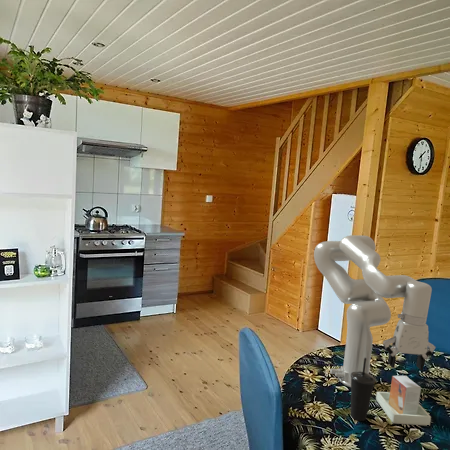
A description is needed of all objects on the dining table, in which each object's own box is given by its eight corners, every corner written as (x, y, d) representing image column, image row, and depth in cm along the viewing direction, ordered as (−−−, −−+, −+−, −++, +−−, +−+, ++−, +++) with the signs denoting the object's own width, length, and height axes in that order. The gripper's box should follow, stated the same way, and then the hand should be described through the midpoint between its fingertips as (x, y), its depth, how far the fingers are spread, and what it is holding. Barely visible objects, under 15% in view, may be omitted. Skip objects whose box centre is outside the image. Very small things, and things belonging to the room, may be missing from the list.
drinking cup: (351, 407, 136) (358, 351, 134) (373, 416, 131) (381, 358, 129) (342, 416, 130) (349, 357, 128) (365, 426, 125) (373, 366, 123)
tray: (393, 423, 128) (394, 414, 128) (376, 399, 142) (377, 391, 142) (429, 425, 128) (431, 416, 128) (409, 401, 142) (410, 393, 142)
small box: (388, 404, 139) (391, 375, 138) (402, 403, 140) (406, 375, 139) (402, 417, 131) (406, 387, 130) (417, 417, 132) (421, 387, 131)
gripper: (392, 320, 128) (384, 370, 130) (445, 325, 128) (436, 375, 131) (383, 312, 135) (375, 359, 138) (433, 316, 136) (424, 363, 138)
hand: (405, 367), depth 134 cm, fingers open, 9 cm apart
